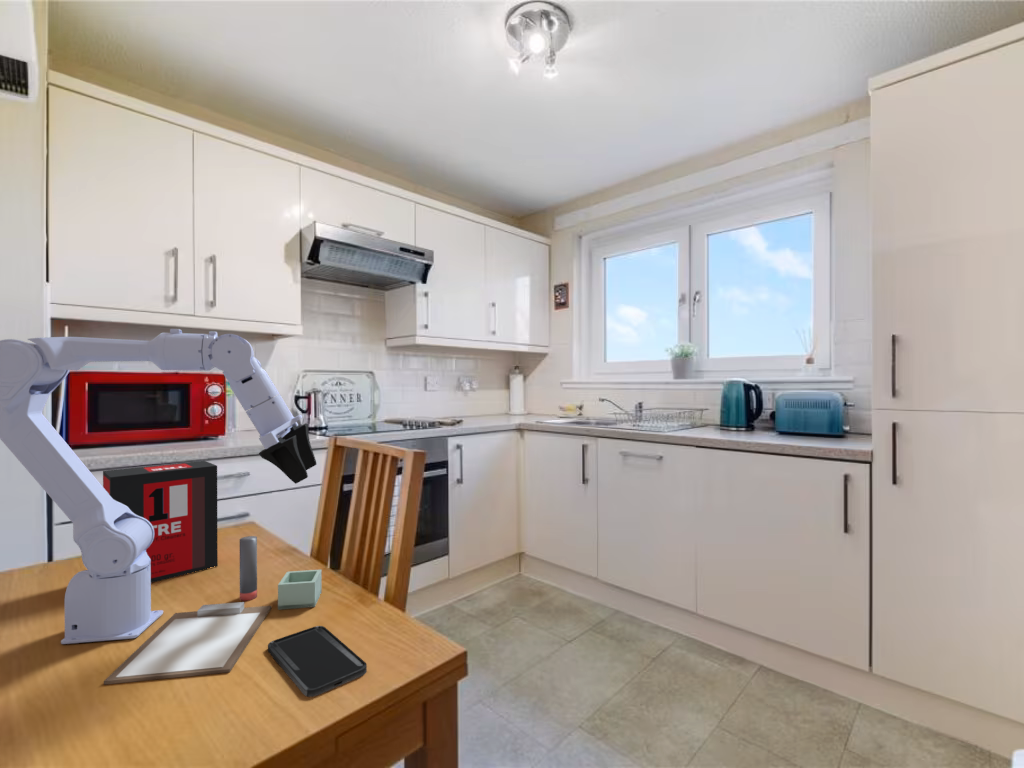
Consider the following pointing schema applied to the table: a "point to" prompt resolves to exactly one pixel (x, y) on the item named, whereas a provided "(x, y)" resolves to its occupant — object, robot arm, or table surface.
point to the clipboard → (193, 644)
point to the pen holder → (299, 589)
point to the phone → (316, 660)
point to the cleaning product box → (172, 513)
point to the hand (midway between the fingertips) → (306, 473)
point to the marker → (248, 568)
